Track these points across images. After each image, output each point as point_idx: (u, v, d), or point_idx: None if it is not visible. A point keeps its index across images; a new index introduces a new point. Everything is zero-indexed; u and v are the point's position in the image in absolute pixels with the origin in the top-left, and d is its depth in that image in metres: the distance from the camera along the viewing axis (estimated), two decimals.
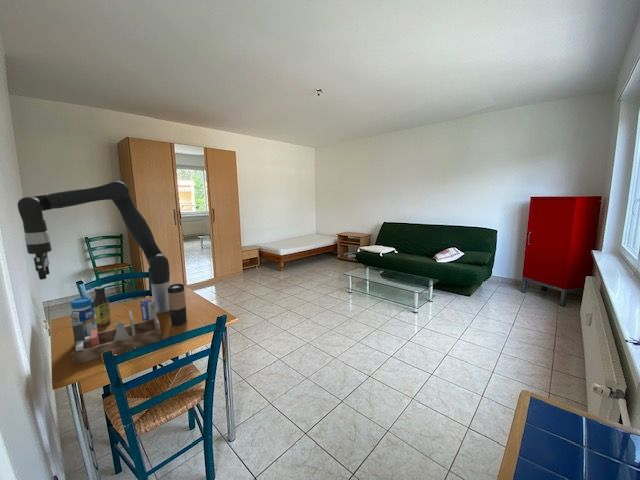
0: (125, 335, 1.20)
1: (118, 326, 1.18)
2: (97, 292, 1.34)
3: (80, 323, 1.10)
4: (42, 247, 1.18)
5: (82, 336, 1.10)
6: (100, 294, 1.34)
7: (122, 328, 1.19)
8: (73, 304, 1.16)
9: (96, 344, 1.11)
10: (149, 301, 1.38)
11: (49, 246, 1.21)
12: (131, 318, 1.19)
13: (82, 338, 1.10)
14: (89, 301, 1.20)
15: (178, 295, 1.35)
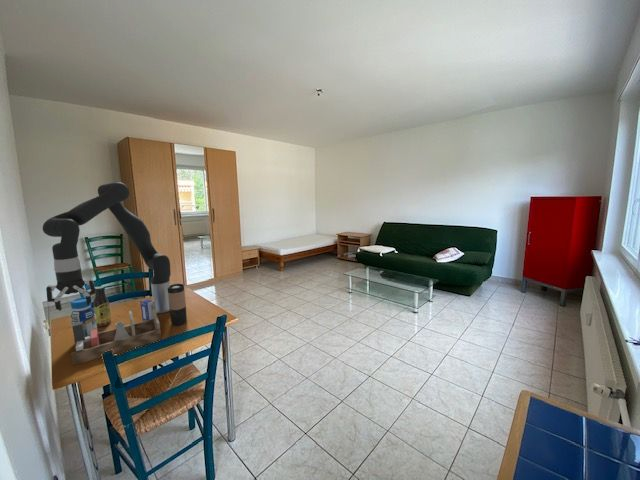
0: (125, 335, 1.20)
1: (118, 326, 1.18)
2: (97, 292, 1.34)
3: (80, 323, 1.10)
4: None
5: (82, 336, 1.10)
6: (100, 294, 1.34)
7: (122, 328, 1.19)
8: (73, 304, 1.16)
9: (96, 344, 1.11)
10: (149, 301, 1.38)
11: None
12: (131, 318, 1.19)
13: (82, 338, 1.10)
14: None
15: (178, 295, 1.35)
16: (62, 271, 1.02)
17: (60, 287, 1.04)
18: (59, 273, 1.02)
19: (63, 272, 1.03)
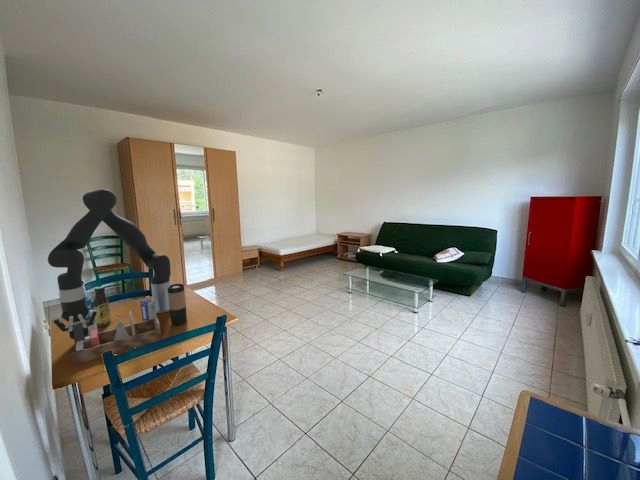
0: (125, 335, 1.20)
1: (118, 326, 1.18)
2: (97, 292, 1.34)
3: (80, 323, 1.10)
4: None
5: (82, 336, 1.10)
6: (100, 294, 1.34)
7: (122, 328, 1.19)
8: None
9: (96, 344, 1.12)
10: (149, 301, 1.38)
11: None
12: (131, 318, 1.19)
13: (82, 338, 1.10)
14: (89, 301, 1.20)
15: (178, 295, 1.35)
16: (67, 301, 1.04)
17: (65, 316, 1.07)
18: (64, 303, 1.04)
19: (68, 302, 1.05)
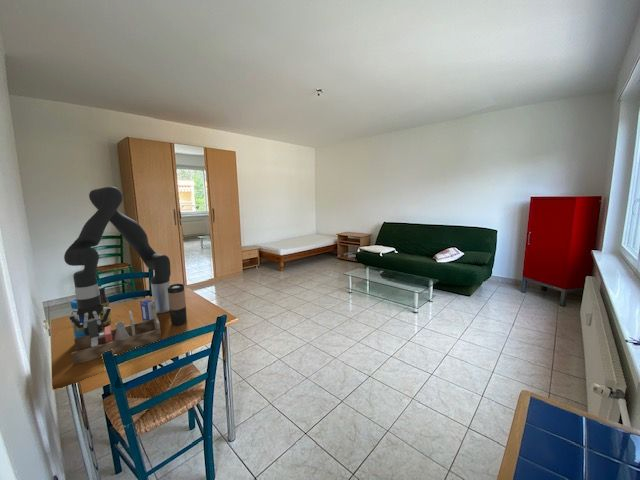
0: (125, 335, 1.20)
1: (118, 326, 1.18)
2: None
3: (94, 320, 1.13)
4: None
5: (96, 333, 1.13)
6: (100, 294, 1.34)
7: (122, 328, 1.19)
8: (73, 304, 1.16)
9: (110, 340, 1.14)
10: (149, 301, 1.38)
11: None
12: (131, 318, 1.19)
13: (96, 334, 1.13)
14: None
15: (178, 295, 1.35)
16: (83, 298, 1.07)
17: (81, 313, 1.09)
18: (80, 300, 1.07)
19: (84, 299, 1.07)
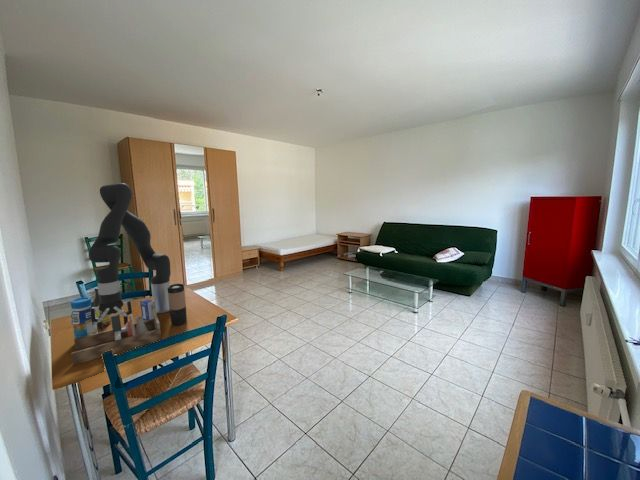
0: (145, 328, 1.25)
1: (139, 320, 1.23)
2: (97, 292, 1.34)
3: (117, 315, 1.18)
4: None
5: (119, 327, 1.18)
6: None
7: (142, 322, 1.25)
8: (73, 304, 1.16)
9: (132, 334, 1.19)
10: (149, 301, 1.38)
11: None
12: (131, 318, 1.19)
13: (119, 329, 1.18)
14: (89, 301, 1.20)
15: (178, 295, 1.35)
16: (105, 294, 1.12)
17: (102, 308, 1.14)
18: (102, 296, 1.12)
19: (106, 295, 1.12)
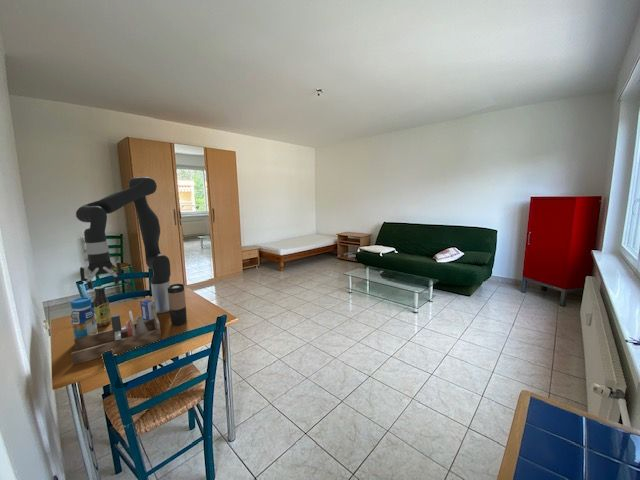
0: (145, 328, 1.25)
1: (139, 320, 1.23)
2: (97, 292, 1.34)
3: (117, 315, 1.18)
4: None
5: (119, 327, 1.18)
6: (100, 294, 1.34)
7: (143, 322, 1.25)
8: (73, 304, 1.16)
9: (132, 334, 1.19)
10: (149, 301, 1.38)
11: None
12: (131, 318, 1.19)
13: (119, 329, 1.18)
14: (89, 301, 1.20)
15: (178, 295, 1.35)
16: (94, 253, 1.14)
17: (92, 268, 1.16)
18: (91, 255, 1.14)
19: (95, 254, 1.14)
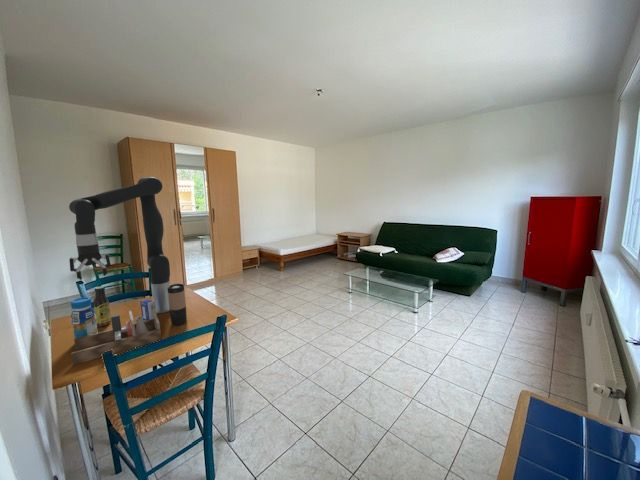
0: (145, 328, 1.25)
1: (139, 320, 1.23)
2: (97, 292, 1.34)
3: (117, 315, 1.18)
4: None
5: (119, 327, 1.18)
6: (100, 294, 1.34)
7: (142, 322, 1.25)
8: (73, 304, 1.16)
9: (132, 334, 1.19)
10: (149, 301, 1.38)
11: None
12: (131, 318, 1.19)
13: (119, 329, 1.18)
14: (89, 301, 1.20)
15: (178, 295, 1.35)
16: (83, 245, 1.19)
17: (81, 259, 1.21)
18: (80, 247, 1.19)
19: (84, 246, 1.19)
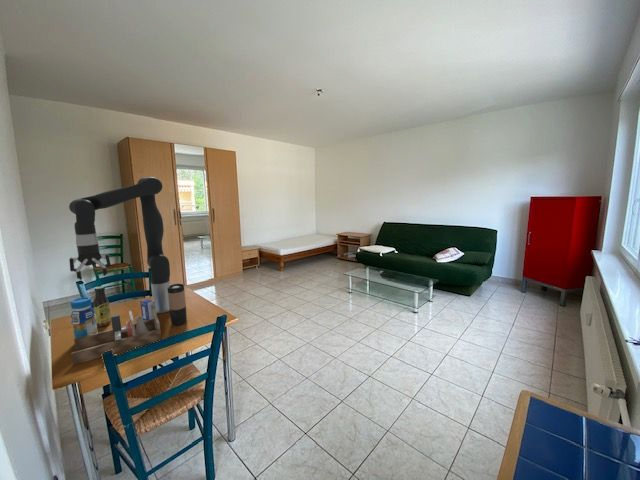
0: (145, 328, 1.25)
1: (139, 320, 1.23)
2: (97, 292, 1.34)
3: (117, 315, 1.18)
4: None
5: (119, 327, 1.18)
6: (100, 294, 1.34)
7: (142, 322, 1.25)
8: (73, 304, 1.16)
9: (132, 334, 1.19)
10: (149, 301, 1.38)
11: None
12: (131, 318, 1.19)
13: (119, 329, 1.18)
14: (89, 301, 1.20)
15: (178, 295, 1.35)
16: (83, 245, 1.19)
17: (81, 259, 1.21)
18: (80, 247, 1.19)
19: (84, 246, 1.19)
